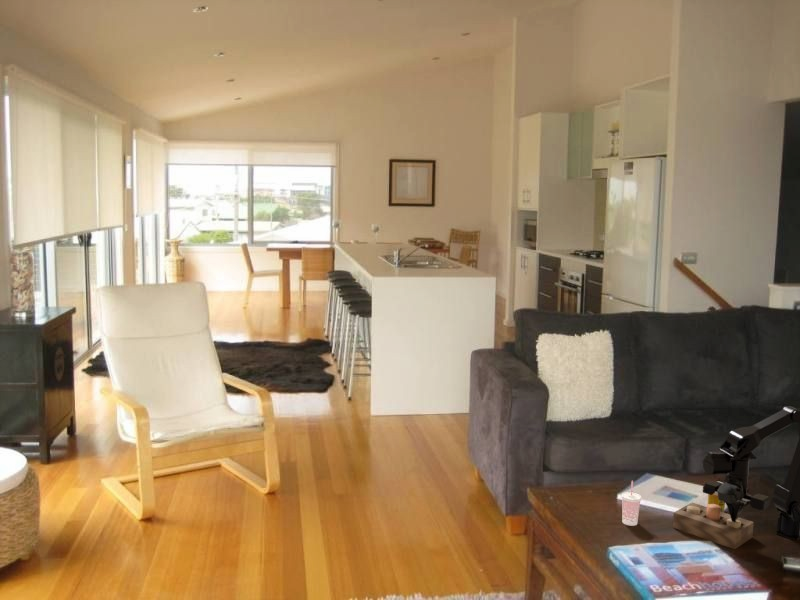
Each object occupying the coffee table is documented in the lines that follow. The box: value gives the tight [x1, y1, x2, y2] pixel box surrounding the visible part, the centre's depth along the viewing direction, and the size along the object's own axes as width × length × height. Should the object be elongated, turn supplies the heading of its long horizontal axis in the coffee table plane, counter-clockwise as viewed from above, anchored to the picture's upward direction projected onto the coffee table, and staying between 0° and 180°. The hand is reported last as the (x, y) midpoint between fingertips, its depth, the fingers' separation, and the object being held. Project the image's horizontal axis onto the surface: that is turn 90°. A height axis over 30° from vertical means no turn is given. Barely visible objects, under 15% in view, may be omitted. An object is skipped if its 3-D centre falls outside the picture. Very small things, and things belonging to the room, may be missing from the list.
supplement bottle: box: [707, 481, 726, 513], centre depth 267 cm, size 5×5×10 cm
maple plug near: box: [726, 519, 741, 529], centre depth 246 cm, size 4×4×5 cm
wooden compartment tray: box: [672, 502, 754, 550], centre depth 250 cm, size 20×12×5 cm, turn 43°
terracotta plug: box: [706, 503, 721, 522], centre depth 250 cm, size 4×4×5 cm
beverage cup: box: [621, 480, 642, 527], centre depth 256 cm, size 6×6×14 cm
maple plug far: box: [687, 506, 700, 515], centre depth 255 cm, size 4×4×5 cm
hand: (733, 521), depth 245 cm, fingers closed, pressing on maple plug near
